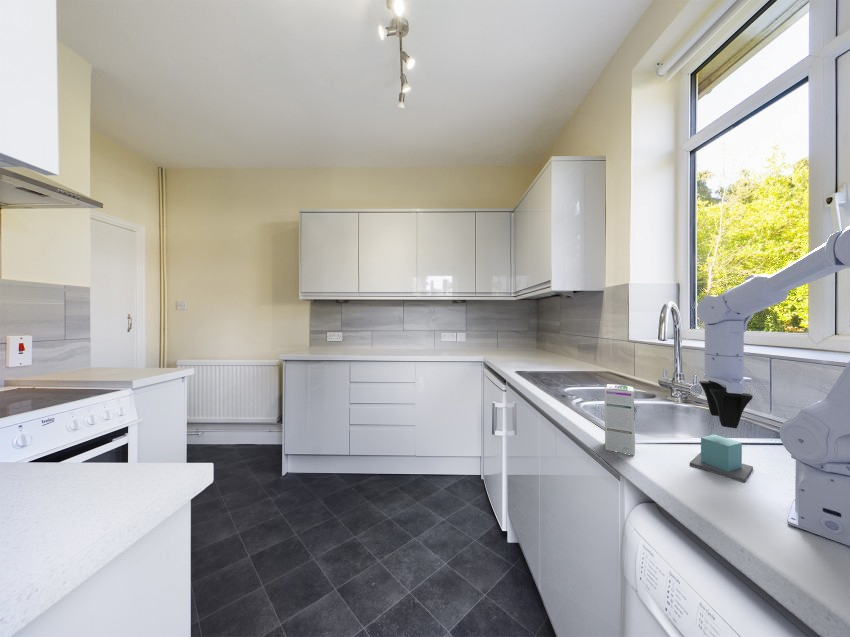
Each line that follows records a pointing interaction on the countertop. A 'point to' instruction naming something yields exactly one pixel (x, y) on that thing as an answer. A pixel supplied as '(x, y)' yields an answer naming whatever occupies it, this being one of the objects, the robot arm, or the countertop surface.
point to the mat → (736, 474)
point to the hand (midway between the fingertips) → (723, 421)
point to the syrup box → (619, 418)
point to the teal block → (721, 452)
